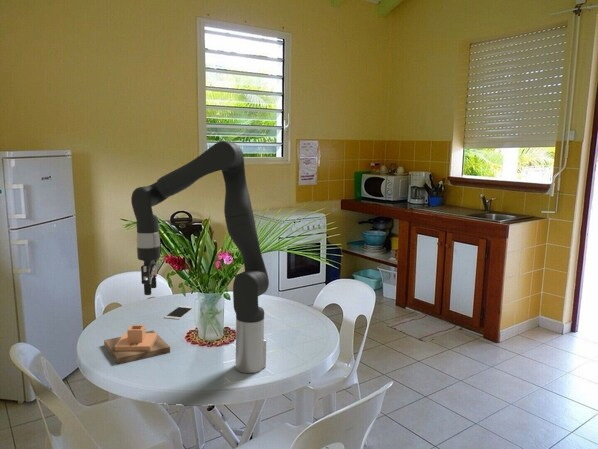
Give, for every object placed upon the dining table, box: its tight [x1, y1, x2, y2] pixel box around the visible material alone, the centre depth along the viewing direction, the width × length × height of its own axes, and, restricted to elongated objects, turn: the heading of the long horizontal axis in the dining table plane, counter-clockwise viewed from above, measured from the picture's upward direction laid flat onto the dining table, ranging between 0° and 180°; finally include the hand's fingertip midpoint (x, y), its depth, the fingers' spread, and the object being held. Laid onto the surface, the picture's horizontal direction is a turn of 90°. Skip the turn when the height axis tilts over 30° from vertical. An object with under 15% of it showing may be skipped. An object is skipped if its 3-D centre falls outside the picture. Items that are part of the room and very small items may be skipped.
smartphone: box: [164, 305, 195, 321], centre depth 208 cm, size 7×16×1 cm, turn 169°
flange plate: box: [115, 324, 158, 351], centre depth 169 cm, size 12×12×6 cm
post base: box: [103, 330, 171, 365], centre depth 169 cm, size 18×18×6 cm
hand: (150, 291), depth 163 cm, fingers open, 8 cm apart
